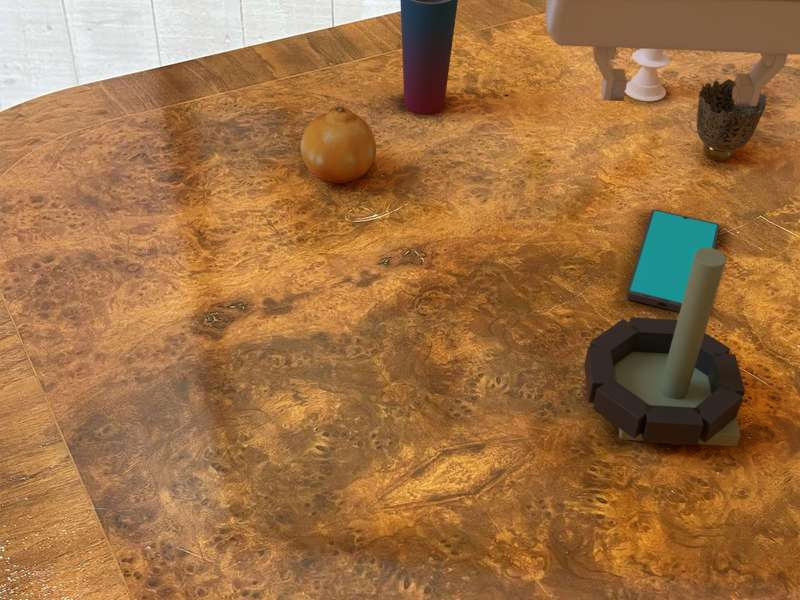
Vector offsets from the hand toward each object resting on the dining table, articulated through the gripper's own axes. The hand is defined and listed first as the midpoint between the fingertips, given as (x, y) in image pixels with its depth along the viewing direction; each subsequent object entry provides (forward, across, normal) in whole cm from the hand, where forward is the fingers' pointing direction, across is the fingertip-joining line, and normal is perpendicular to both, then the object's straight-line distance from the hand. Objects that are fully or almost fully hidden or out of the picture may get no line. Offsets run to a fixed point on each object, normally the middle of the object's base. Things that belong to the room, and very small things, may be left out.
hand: (677, 99), depth 77 cm
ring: (+28, -3, +1) cm, 28 cm away
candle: (+30, -9, -54) cm, 62 cm away
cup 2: (+30, -16, -40) cm, 52 cm away
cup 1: (+30, +19, -48) cm, 59 cm away
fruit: (+30, +28, -32) cm, 52 cm away
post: (+30, -5, +2) cm, 30 cm away
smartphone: (+30, -8, -18) cm, 36 cm away
